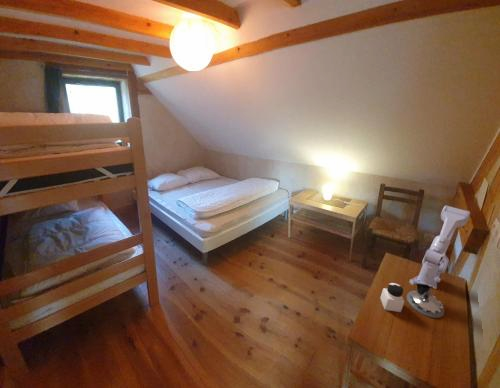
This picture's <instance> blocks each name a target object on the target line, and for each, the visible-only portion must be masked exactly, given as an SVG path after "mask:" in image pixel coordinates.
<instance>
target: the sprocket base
mask: <svg viewBox="0 0 500 388" xmlns="http://www.w3.org/2000/svg"><path fill="white" fill-rule="evenodd" d="M412 291H413V290H411V291H409V292H408V293H407V294H406V298H405V299H406V302H407V303H408V305H409V306H410V307H411V308H412V310H414V311H416V312H417V313H419V314H421V315H422V316H425V317H427V318H431V319H439V318H442V317H443V316H444V314H445V307H444V306H443V305H444V304H441V305H440V306H442V307H443V310H441V313H439V314H438V313H437V312H435V314H431V313H430V312H428V311H426V312H424V311H422V309H421V308H420V307H418V308H417V307H416V306H415V303H414V302H411V300H410V298H412V297H409V296H410V293H412ZM415 291H416V292H417V290H415ZM436 300H437V301H439V300H438V299H437V298H436Z"/></svg>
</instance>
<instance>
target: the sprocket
mask: <svg viewBox="0 0 500 388" xmlns="http://www.w3.org/2000/svg"><path fill="white" fill-rule="evenodd" d="M411 291H412V293H410V296H409V297H412V298H410V300H411V302H414V303H415V306H416V307H417V308H418V307H420V308H421V309H422V311H424V312H426V311H428V312H430V313H431V314H435V312H437V313H438V314H439V313H441V310H443V307H444V306H443V307H442V306H440V305H441V304H442V302H441V301H440V300H438V299H437V297H436V296H434V295H431V292H432V288H430V289H428V290H427V291H426V292H425V293H424V294H423V295H420V294H419V293H418V292H416V291H417V290H411ZM436 299H437V300H438V301H437V300H436ZM442 305H443V304H442Z"/></svg>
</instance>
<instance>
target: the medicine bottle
mask: <svg viewBox="0 0 500 388" xmlns="http://www.w3.org/2000/svg"><path fill="white" fill-rule="evenodd" d="M403 292H404V288H403V287H402V286H401V285H400V284H398V283H395V282H391V283H388V285H387V288H382V291H381V295H380V301H381V304H382V307H383V309H384V310H385V311H389V312H390V311H392V312H397V313H402V311H403V307H404V304H405V299H404V297H403V294H404V293H403Z"/></svg>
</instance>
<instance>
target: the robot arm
mask: <svg viewBox="0 0 500 388" xmlns="http://www.w3.org/2000/svg"><path fill="white" fill-rule="evenodd" d="M470 215H471V212H470V210H464V209H461V208H458V207H457V208H456V207H453V206H449V205H448V204H447V205H444V206H443V208H442V210H441V213H440V219H441V221H443V225H442V228H441V230H440V232H439V233H440V234H439V235H437V236H435V237H434V238H433V241H432V242H431V244H430V247H429V248H428V249H427V250H426V251H425V254H424V257H423V259H422V262H421V264H422V266H421V268H420V272H419V274H418V275H417V276H415V277H413V278H411V279H409V281H408V283H409V284H410V285H411V286H415V284H416V289H417V290H416V291H417V292H418V293H419V294H420V295H423V294H424V293H425V292H426V291H427V290H428V289H432V288H433V289H435V290H436V289H437V286H438V283H440V282H441V278H440V276H441V275H442V274H444V273H446V270H447V268H448V266H449V262H450V260H449V258H448V256H447V255H446V252H447V250H448V248H449V246H450V245H451V241H452V238H453V235H454V233H455V231H456V229H457V228H458V227H465V226H466V224H467V222H468V221H469V218H470Z"/></svg>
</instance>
